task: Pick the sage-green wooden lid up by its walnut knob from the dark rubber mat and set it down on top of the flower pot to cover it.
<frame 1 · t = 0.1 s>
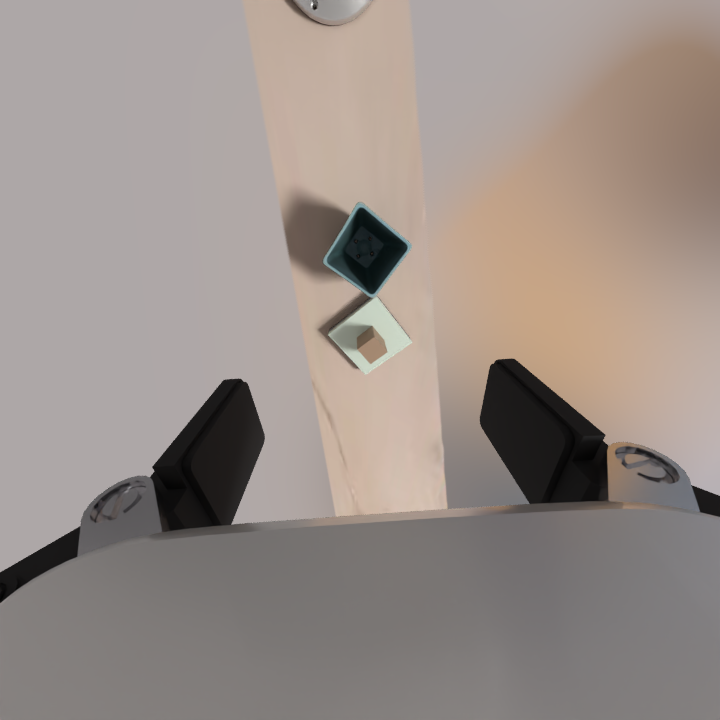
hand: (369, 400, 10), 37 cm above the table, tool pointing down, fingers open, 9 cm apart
flower pot: (364, 248, 42), on the table
lid: (370, 336, 48), point 1 cm above the table, touching mat
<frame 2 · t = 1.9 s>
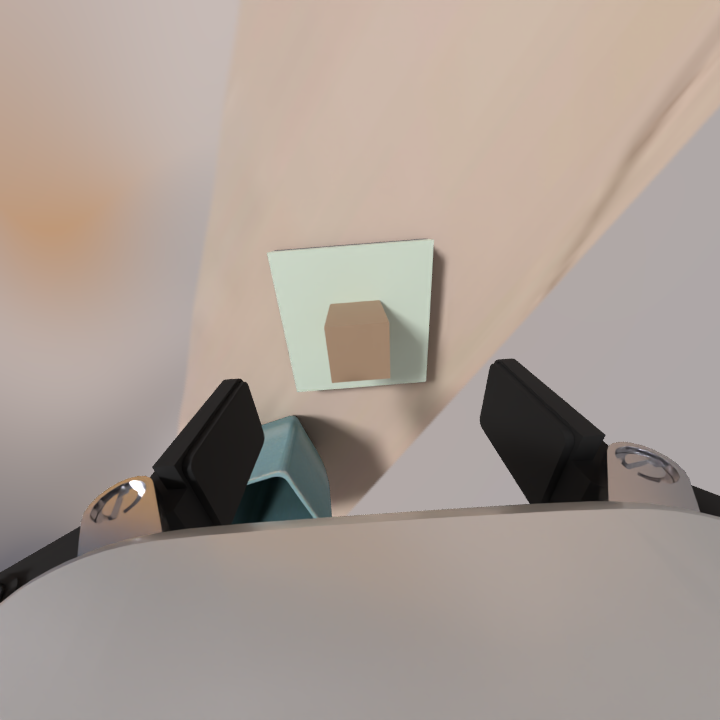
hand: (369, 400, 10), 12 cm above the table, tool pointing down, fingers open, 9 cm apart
flower pot: (285, 436, 27), on the table
lid: (356, 320, 20), point 1 cm above the table, touching mat
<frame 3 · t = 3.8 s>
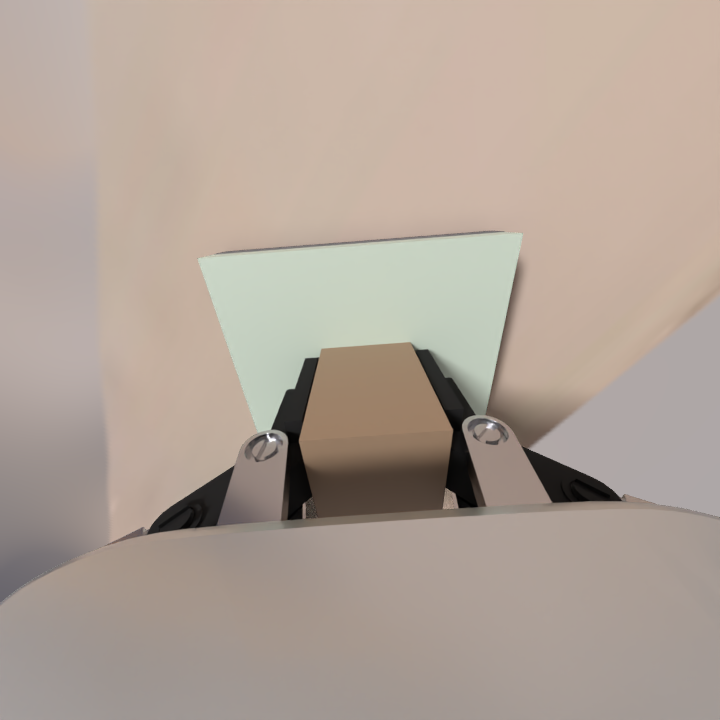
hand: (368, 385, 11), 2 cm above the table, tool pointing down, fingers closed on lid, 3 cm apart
mat: (365, 358, 13), on the table
lid: (366, 368, 12), point 1 cm above the table, touching gripper, mat
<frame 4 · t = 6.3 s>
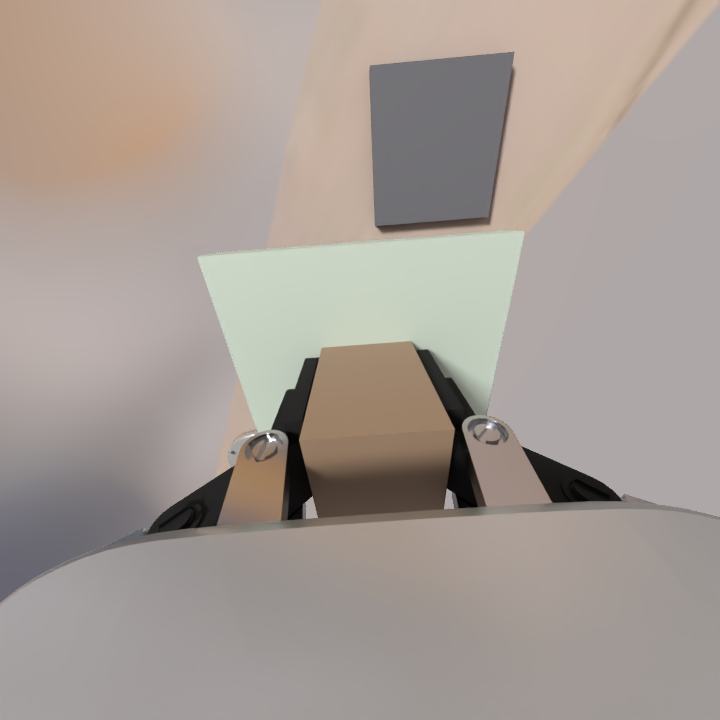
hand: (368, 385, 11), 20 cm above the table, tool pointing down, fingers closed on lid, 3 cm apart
mat: (433, 152, 23), on the table
lid: (367, 368, 12), point 19 cm above the table, touching gripper
when the fingers open (12 cm above the table, at t = 8.9 s): lid drops 2 cm, resting on flower pot.
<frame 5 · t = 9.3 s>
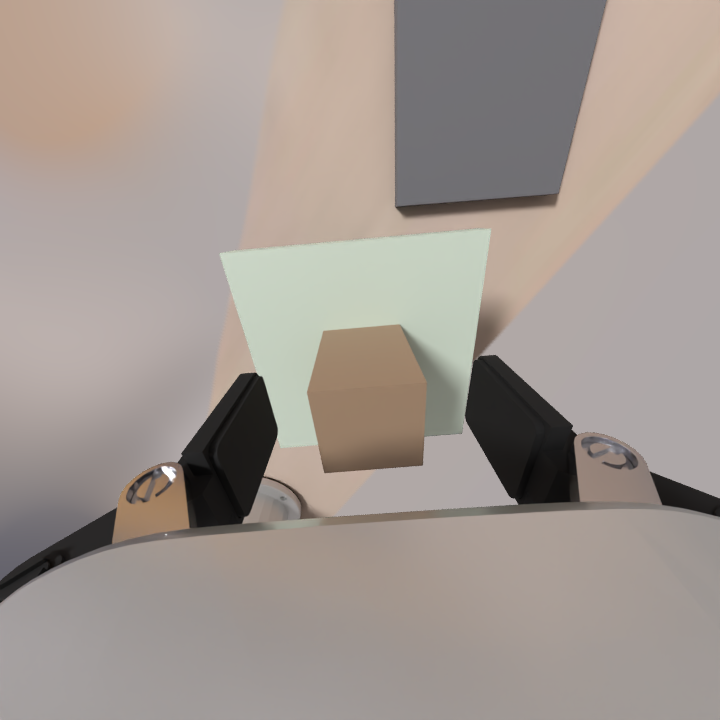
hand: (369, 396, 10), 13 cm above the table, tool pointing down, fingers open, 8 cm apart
mat: (483, 96, 16), on the table
lid: (363, 350, 14), point 9 cm above the table, touching flower pot
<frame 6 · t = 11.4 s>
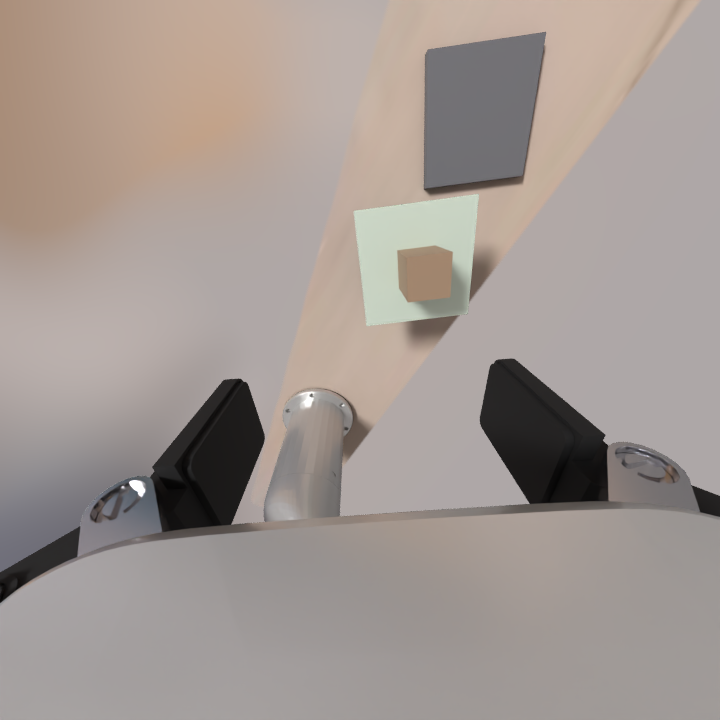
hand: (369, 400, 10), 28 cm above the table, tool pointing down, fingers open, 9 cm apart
mat: (475, 121, 28), on the table
lid: (413, 265, 26), point 9 cm above the table, touching flower pot
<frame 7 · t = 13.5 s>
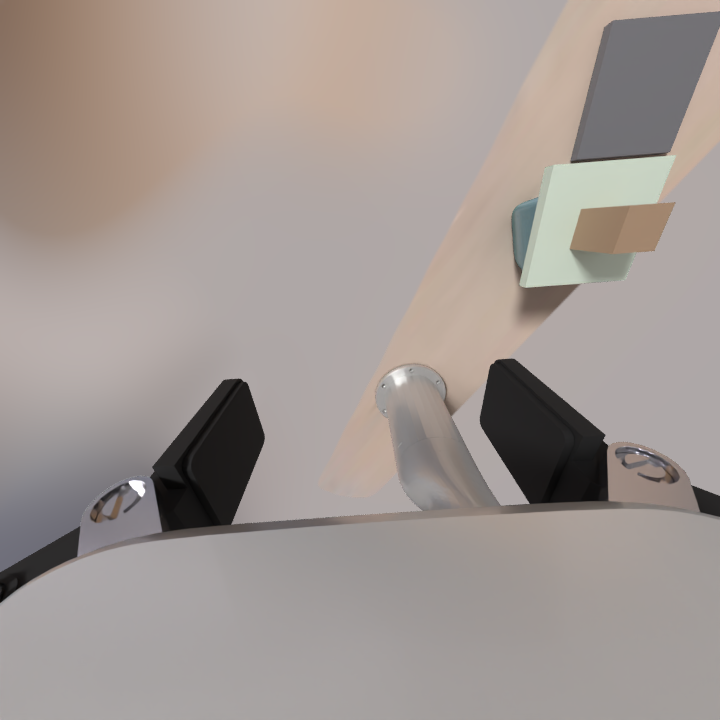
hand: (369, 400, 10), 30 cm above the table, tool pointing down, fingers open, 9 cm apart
flower pot: (530, 227, 35), on the table, touching lid
mat: (635, 96, 29), on the table
lid: (583, 228, 27), point 9 cm above the table, touching flower pot
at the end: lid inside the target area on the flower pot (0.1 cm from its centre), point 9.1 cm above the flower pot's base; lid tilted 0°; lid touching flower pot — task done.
